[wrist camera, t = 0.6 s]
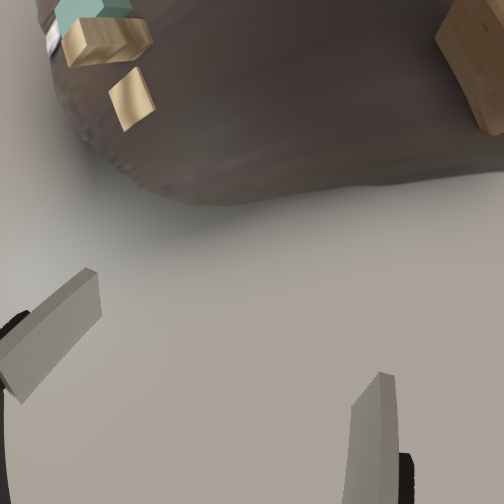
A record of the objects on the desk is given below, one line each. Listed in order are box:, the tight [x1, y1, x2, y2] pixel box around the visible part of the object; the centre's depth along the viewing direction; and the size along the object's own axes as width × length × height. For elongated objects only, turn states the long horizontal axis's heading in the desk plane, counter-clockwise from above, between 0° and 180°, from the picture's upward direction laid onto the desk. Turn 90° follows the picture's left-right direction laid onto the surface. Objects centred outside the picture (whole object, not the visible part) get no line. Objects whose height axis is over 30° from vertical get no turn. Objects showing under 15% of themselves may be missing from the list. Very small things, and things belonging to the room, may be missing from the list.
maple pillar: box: [61, 17, 154, 68], centre depth 31 cm, size 5×5×12 cm
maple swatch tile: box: [109, 66, 156, 132], centre depth 41 cm, size 8×8×1 cm
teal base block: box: [55, 0, 133, 39], centre depth 32 cm, size 12×12×6 cm
